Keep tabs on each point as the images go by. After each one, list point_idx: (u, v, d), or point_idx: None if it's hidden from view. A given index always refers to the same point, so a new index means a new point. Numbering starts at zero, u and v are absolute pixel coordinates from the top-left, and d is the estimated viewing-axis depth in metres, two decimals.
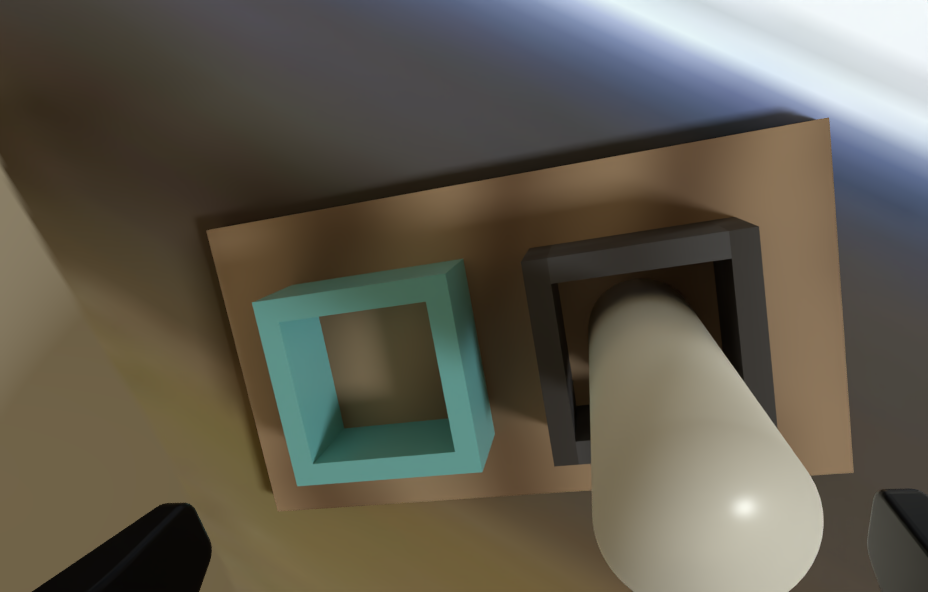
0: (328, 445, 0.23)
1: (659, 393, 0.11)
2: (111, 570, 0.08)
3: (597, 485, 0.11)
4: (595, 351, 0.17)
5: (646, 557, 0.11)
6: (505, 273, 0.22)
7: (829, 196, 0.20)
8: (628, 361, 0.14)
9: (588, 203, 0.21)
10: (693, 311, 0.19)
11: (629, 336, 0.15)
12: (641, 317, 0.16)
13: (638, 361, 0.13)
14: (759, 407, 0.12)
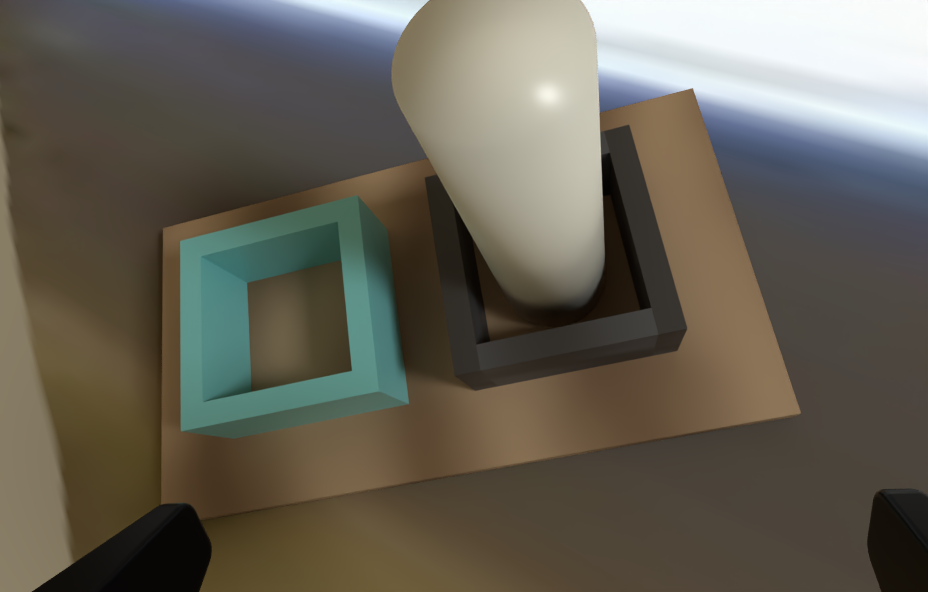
0: None
1: None
2: (111, 570, 0.08)
3: (397, 50, 0.11)
4: None
5: (440, 101, 0.11)
6: (424, 239, 0.23)
7: (707, 145, 0.22)
8: None
9: None
10: None
11: None
12: None
13: None
14: None
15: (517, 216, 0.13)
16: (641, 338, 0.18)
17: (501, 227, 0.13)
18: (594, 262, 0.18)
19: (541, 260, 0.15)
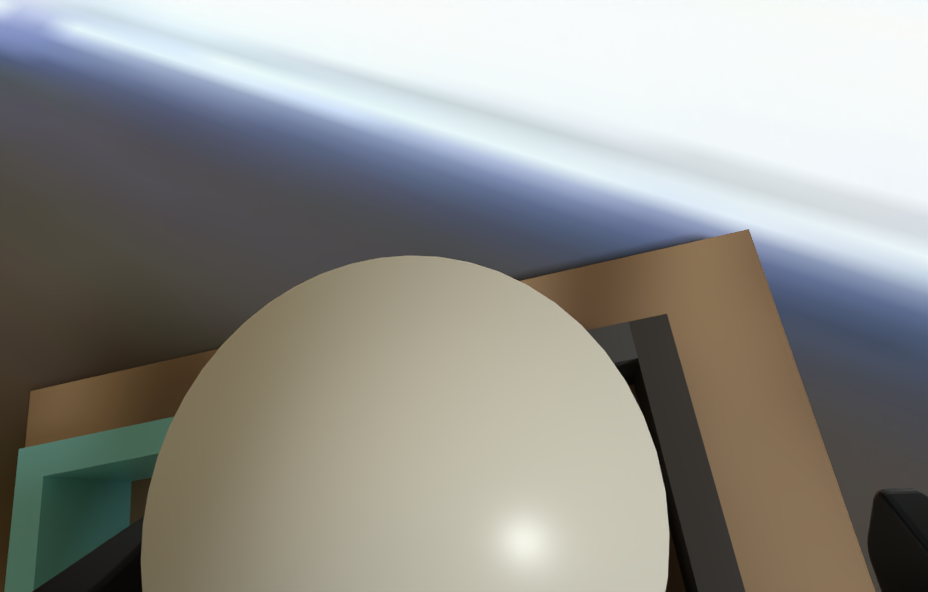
0: None
1: None
2: (111, 570, 0.08)
3: (170, 441, 0.05)
4: None
5: None
6: None
7: (773, 317, 0.15)
8: None
9: None
10: None
11: None
12: None
13: None
14: None
15: None
16: None
17: None
18: None
19: None
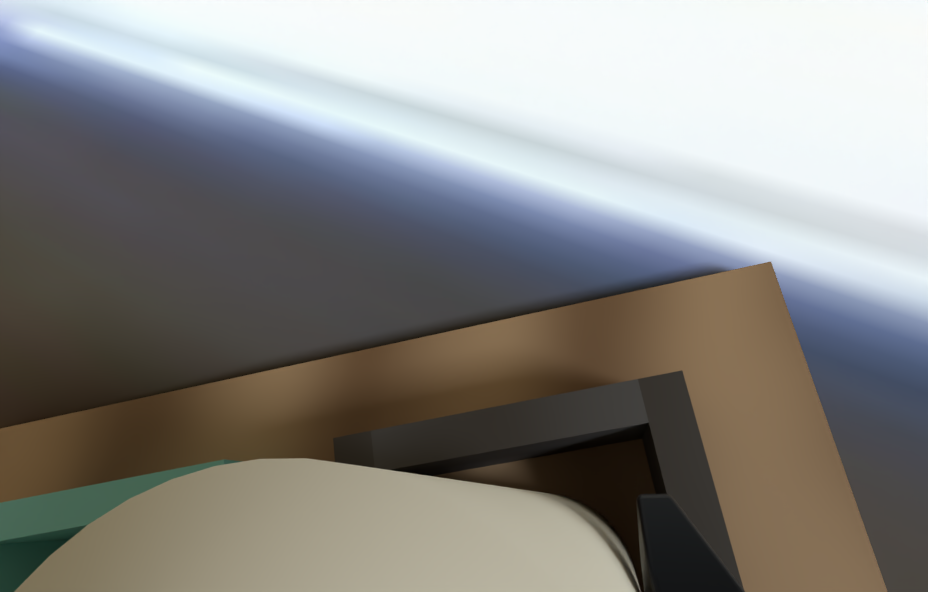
0: None
1: None
2: None
3: None
4: None
5: None
6: None
7: (799, 364, 0.14)
8: None
9: (465, 383, 0.15)
10: (607, 524, 0.11)
11: None
12: None
13: None
14: (577, 548, 0.04)
15: None
16: None
17: None
18: None
19: None
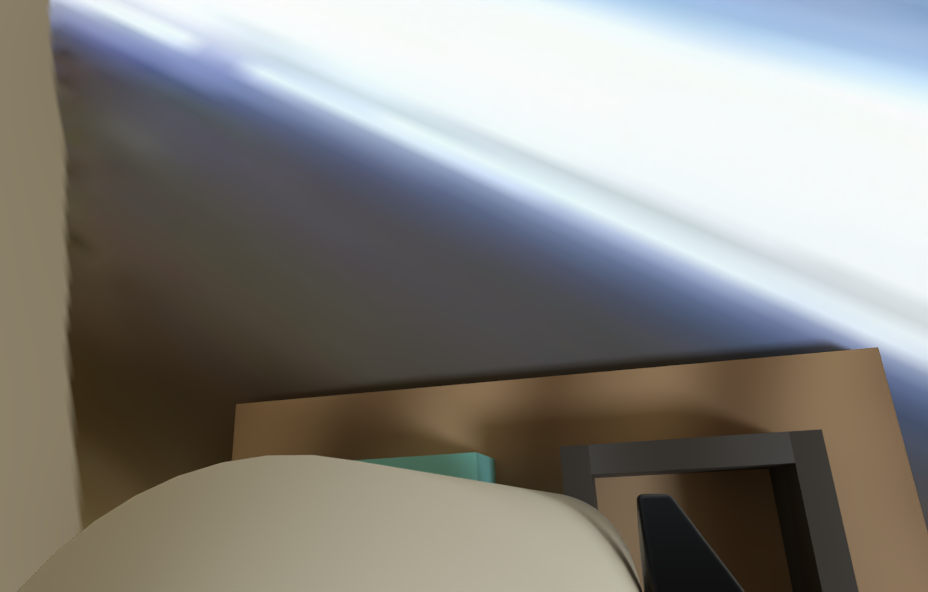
0: None
1: None
2: None
3: None
4: None
5: None
6: (538, 480, 0.20)
7: (894, 427, 0.18)
8: None
9: (632, 411, 0.20)
10: (608, 524, 0.11)
11: None
12: None
13: None
14: (581, 546, 0.04)
15: None
16: None
17: None
18: None
19: None
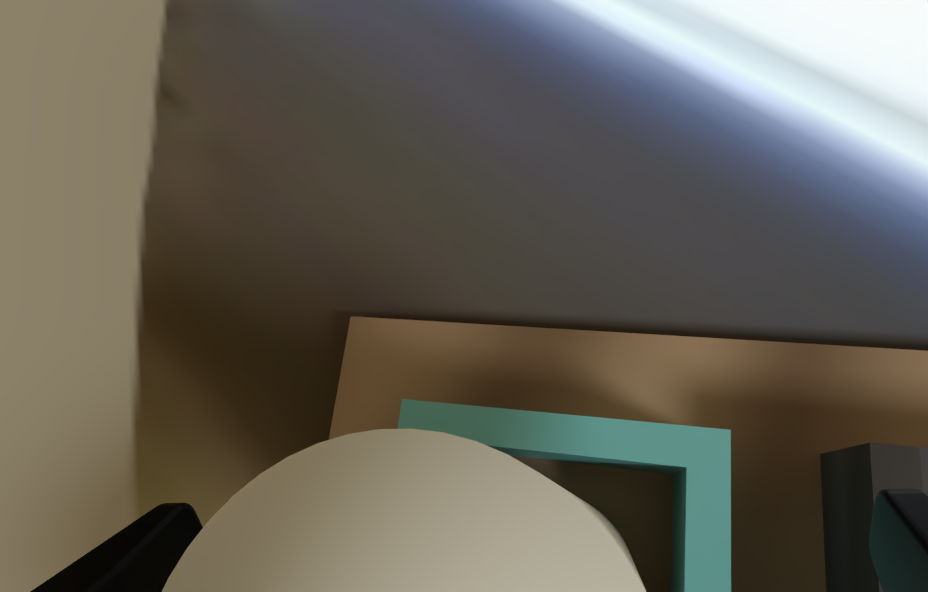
0: None
1: None
2: (110, 570, 0.08)
3: None
4: None
5: None
6: (774, 483, 0.14)
7: None
8: None
9: (927, 410, 0.14)
10: (608, 519, 0.13)
11: None
12: None
13: None
14: (586, 507, 0.06)
15: None
16: None
17: None
18: None
19: None
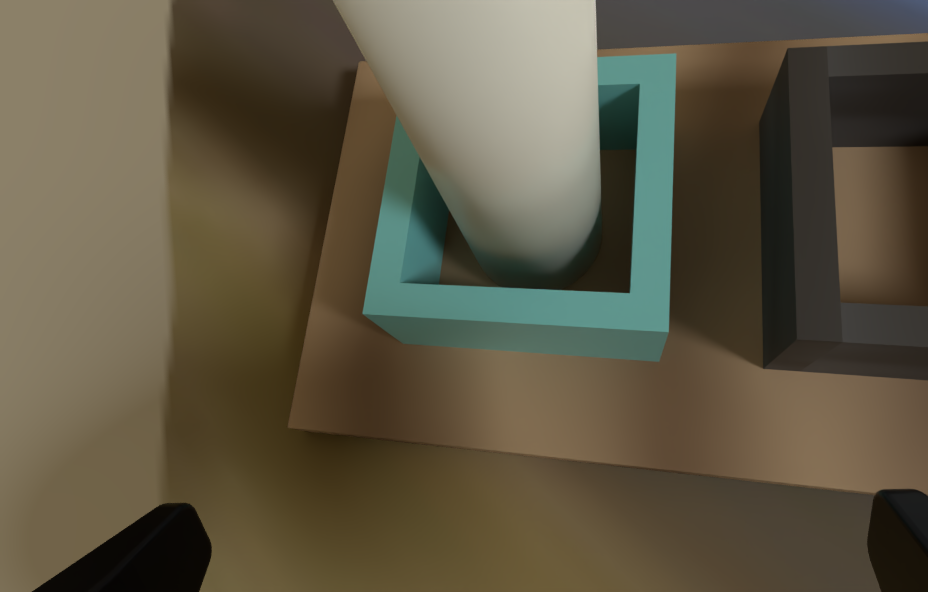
0: None
1: None
2: (111, 570, 0.08)
3: None
4: None
5: None
6: (720, 147, 0.17)
7: None
8: None
9: None
10: None
11: None
12: None
13: None
14: None
15: (467, 82, 0.08)
16: None
17: (445, 107, 0.09)
18: (587, 196, 0.13)
19: (511, 177, 0.11)
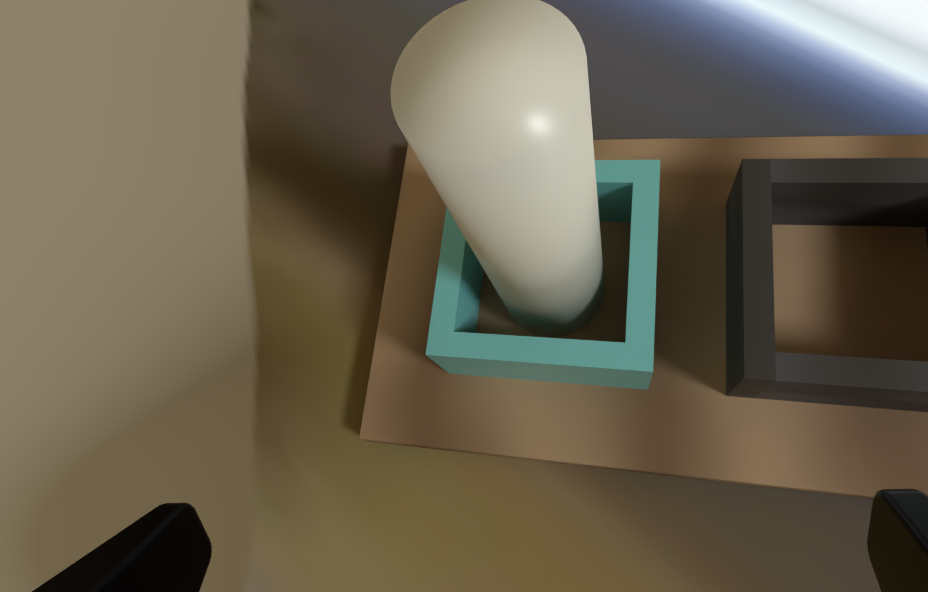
0: None
1: None
2: (111, 570, 0.08)
3: (396, 70, 0.12)
4: None
5: (437, 119, 0.11)
6: (695, 222, 0.22)
7: None
8: None
9: None
10: None
11: None
12: None
13: None
14: None
15: (513, 229, 0.13)
16: None
17: (498, 239, 0.14)
18: (591, 273, 0.18)
19: (537, 271, 0.16)
